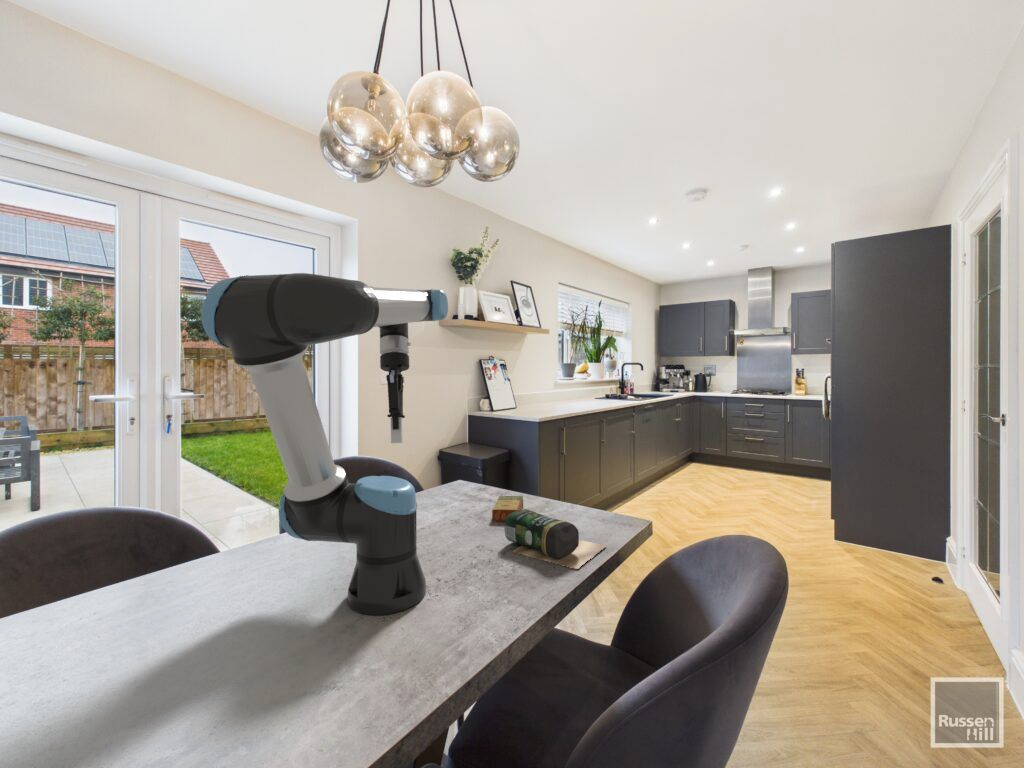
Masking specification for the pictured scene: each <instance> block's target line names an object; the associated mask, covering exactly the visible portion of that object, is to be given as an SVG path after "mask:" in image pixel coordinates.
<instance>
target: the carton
mask: <svg viewBox="0 0 1024 768" xmlns="http://www.w3.org/2000/svg"><path fill="white" fill-rule="evenodd" d="M522 509H524V496H523V495H499V496H498V497H497V500H496V502H495V504H494V506H493V508H492V509H491V515H492V518H491V520H492V521H496V522H495V523H505V522H506V519H507V516H508V515H509V514H511V513H513V512H515V511H518V510H522ZM492 521H491V522H492Z"/></svg>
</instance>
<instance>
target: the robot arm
mask: <svg viewBox="0 0 1024 768" xmlns="http://www.w3.org/2000/svg"><path fill="white" fill-rule="evenodd" d="M200 312H201V315H200V316H201V323H202V326H203V329H204V331H205V334H206V335H207V336H208V338H209V339H210V340H211V341H212V342H213V343H216V344H217V345H218V346H220V347H223V348H225V349H229V350H230V352H231V355H232V357H233V359H234V363H235V364H236V365H237V366H238V367H241V368H243V369H245V370H247V371H248V372H249V374H250V377H251V379H252V382H253V386H254V387H255V390H256V394H257V396H258V398H259V399H258V400H259V402H260V404H261V407H262V410H263V413H264V414H265V418H266V420H267V424H268V426H269V429H270V432H271V434H272V437H273V440H274V442H275V445H276V448H277V450H278V453H279V457H280V459H281V462H282V465H283V467H284V470H285V473H286V477H287V478H288V481H286V484H285V486H284V488H283V493H282V494H281V496H280V500H279V504H278V505H279V506H280V508H279V509H278V520H279V523H280V525H281V527H282V529H283V530H284V532H286V534H287V535H289V536H290V537H292V538H294V539H299V540H302V541H303V540H304V541H307V542H330V543H346V544H355V546H356V562H355V566H354V569H353V572H352V576H351V579H350V582H349V585H348V590H347V605H348V606H349V607H350V608H351V610H353V611H355V612H357V613H360V614H363V615H369V616H370V615H371V616H381V615H382V616H384V615H389V614H394V613H398V612H402V611H405V610H408V609H410V608H412V607H414V606H415V605H417V604H418V603H420V601H422V600H423V599H424V598H425V596H426V593H427V587H426V584H427V582H426V577H425V575H424V572H423V569H422V566H421V563H420V559H419V557H418V554H417V550H418V549H417V548H418V547H417V509H418V503H417V500H416V499H417V498H416V490H415V486H414V485H413V484H412V483H411V482H409V481H408V480H406V479H404V478H401V477H398V476H397V477H396V476H391V475H380V476H379V475H378V476H377V475H370V476H369V475H368V476H364V477H361V478H359V479H358V480H357V481H356V482H355V483H351V482H349V479H348V477H347V473H346V471H345V469H344V468H343V467H342V466H340V465H338V464H335V462H334V458H333V456H332V451H331V449H330V445H329V442H328V439H327V436H326V433H325V429H324V425H323V422H322V419H321V417H320V411H319V409H318V405H317V402H316V400H315V399H316V398H315V397H314V396H315V395H314V393H313V390H312V387H311V383H310V381H309V380H310V379H309V377H308V373H307V371H306V370H307V369H306V367H305V363H304V361H303V357H304V355H305V354H306V352H307V351H308V349H309V346H311V345H316V344H322V343H323V344H324V343H327V342H332V341H336V340H339V339H340V340H341V339H345V338H348V337H354V336H358V335H363V334H366V333H368V332H371V330H372V329H374V328H376V327H378V329H379V354H380V357H379V362H380V363H379V364H380V365H379V366H380V369H381V370H382V371H384V372H388V374H386V382H387V397H388V399H387V400H388V413H389V414H387V418H390V443H391V444H402V443H404V441H403V419H405V418H406V415H404V412H403V411H404V389H405V388H404V383H405V381H404V380H405V377H404V376H403V374H402V372H405V371H408V370H409V369H410V355H409V353H410V351H409V346H412V344H411V342H409V323H419V322H420V323H421V322H436V321H437V322H438V321H444V320H445V319H446V318H447V316H448V312H449V300H448V296H447V294H446V293H445V291H443V290H442V289H433V288H430V289H411V288H410V289H408V288H389V287H375V286H371V285H368V284H367V283H365V282H363V281H359V280H354V279H347V278H341V277H335V276H327V275H322V274H315V273H305V272H296V273H284V274H281V273H280V274H279V273H278V274H263V275H262V274H261V275H256V274H255V275H249V274H248V275H247V274H246V275H240V276H235V277H230V278H224V279H221V280H219V281H218V282H216V283H215V284H213V285H212V286H211V287H210V288H209V289H208V290H207V293H206V298H204V299H203V301H202V305H201V311H200Z"/></svg>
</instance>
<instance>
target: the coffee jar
mask: <svg viewBox="0 0 1024 768" xmlns="http://www.w3.org/2000/svg"><path fill="white" fill-rule="evenodd" d="M579 533H580V532H579V529H578V528H577V526H575V524H574V523H572V522H571V523H570V522H569V521H566V520H561V519H557V518H553V517H549V516H546V515H543V514H540V513H539V512H535V511H533V510H530V509H526V508H525V509H524V508H523V510H518V511H515V512H513V513H511V514H509V515H508V516H507V519H506V522H504V535H505V538H506V539H507V540H508V541H509V542H512V543H514V544H518V545H520V546H522V545H523V546H526V547H529V548H532V549H535V550H538V551H540V552H542V553H544V554H545V555H547V556H549V557H552V558H556V559H560V558H563V557H565V556H567V555H569V554H571V553H572V552H574V550H575V549H576V548H577V547H578V545H579V540H580V537H579V535H580V534H579Z"/></svg>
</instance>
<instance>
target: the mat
mask: <svg viewBox="0 0 1024 768" xmlns="http://www.w3.org/2000/svg"><path fill="white" fill-rule="evenodd" d="M605 547H606V548H607V545H604V544H599V543H594V542H591V541H587V540H582V539H579V545H578V547H577V548H576V549H575V550H574V552H572V553H571V554H569V555H567V556H565V557H563V558H560V559H556V558H552V557H549V556H547V555H545V554H544V553H542V552H540V551H538V550H535V549H532V548H529V547H526V546H523V545H520V546H519V547H517V548H515V549H514V550H512V553H513V554H517V553H518V554H517V555H520V554H522V555H521V556H524V555H525V557H529V558H532V559H536V560H539V559H540V560H539V561H542V560H544V561H543V562H546V561H549V562H548V563H550V562H553V563H556V564H555V565H557V564H560V565H564V566H568V567H572V568H577V569H578V568H580V567H581V566H582V565H583V564H584V563H586V562H587V561H588V560H589V559H591V558H592V557H593V556H595V555H596V554H597V553H599V552H600V551H601V550H603V549H604V548H605ZM606 548H605V549H606ZM605 549H604V550H605ZM604 550H603V551H604ZM601 552H602V551H601ZM601 552H600V553H601ZM600 553H599V554H600ZM596 556H597V555H596ZM596 556H595V557H596ZM591 560H592V559H591ZM553 563H552V564H553ZM586 564H587V563H586ZM560 565H559V566H560ZM564 566H563V567H564ZM568 567H567V568H568ZM581 568H582V567H581ZM581 568H580V569H581Z"/></svg>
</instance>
